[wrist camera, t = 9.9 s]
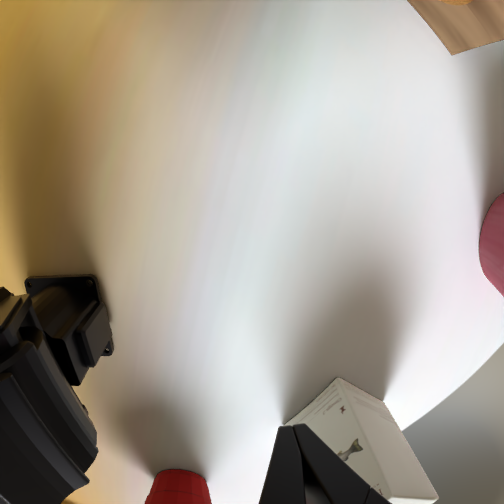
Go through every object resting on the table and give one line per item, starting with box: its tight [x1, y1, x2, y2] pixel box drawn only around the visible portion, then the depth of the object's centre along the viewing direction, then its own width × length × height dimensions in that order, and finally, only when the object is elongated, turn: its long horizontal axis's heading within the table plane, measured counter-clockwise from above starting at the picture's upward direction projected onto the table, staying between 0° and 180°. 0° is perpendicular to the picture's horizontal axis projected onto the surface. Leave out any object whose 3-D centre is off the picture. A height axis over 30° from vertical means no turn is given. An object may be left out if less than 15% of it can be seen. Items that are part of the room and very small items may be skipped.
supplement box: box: [283, 377, 439, 504], centre depth 20 cm, size 7×7×13 cm
